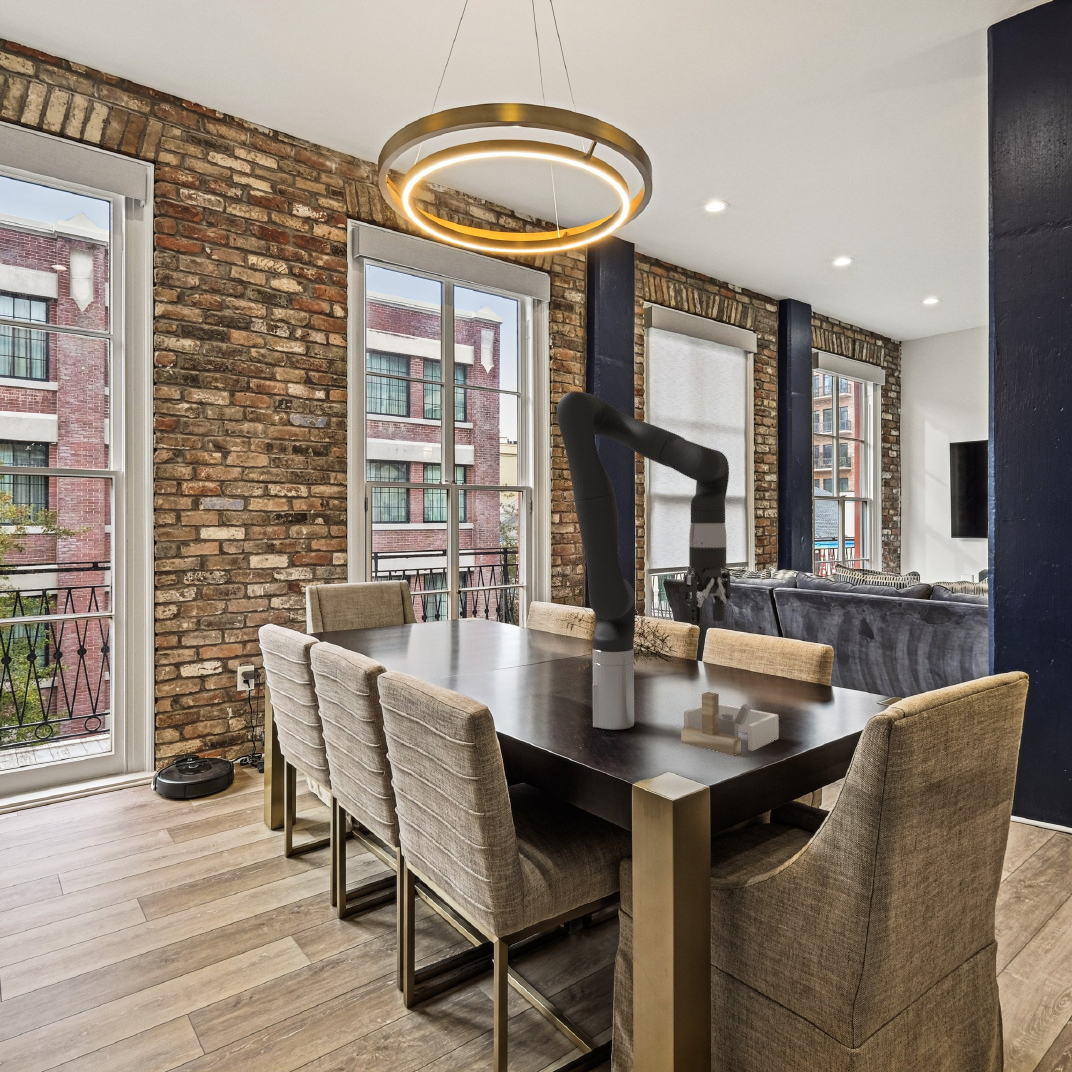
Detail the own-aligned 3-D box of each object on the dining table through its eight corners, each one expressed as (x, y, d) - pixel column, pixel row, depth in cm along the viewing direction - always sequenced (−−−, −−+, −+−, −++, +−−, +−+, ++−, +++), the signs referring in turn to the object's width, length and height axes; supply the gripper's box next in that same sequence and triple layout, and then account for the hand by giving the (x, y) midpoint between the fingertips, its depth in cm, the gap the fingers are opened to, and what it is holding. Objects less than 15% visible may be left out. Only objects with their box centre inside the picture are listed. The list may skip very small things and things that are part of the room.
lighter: (716, 738, 154) (716, 700, 154) (721, 736, 155) (720, 698, 155) (747, 745, 149) (747, 706, 149) (751, 743, 150) (751, 704, 150)
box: (752, 750, 145) (752, 726, 145) (684, 734, 156) (683, 711, 156) (778, 738, 153) (778, 714, 153) (711, 724, 164) (711, 701, 164)
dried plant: (670, 607, 234) (548, 553, 221) (720, 629, 204) (583, 568, 191) (632, 694, 234) (507, 645, 220) (676, 729, 204) (535, 674, 191)
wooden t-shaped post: (733, 756, 143) (732, 700, 142) (681, 743, 151) (680, 690, 151) (741, 752, 145) (740, 697, 144) (689, 740, 153) (689, 687, 153)
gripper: (704, 546, 144) (704, 628, 144) (741, 544, 154) (741, 621, 154) (672, 545, 149) (672, 624, 150) (710, 543, 159) (710, 617, 160)
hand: (707, 623), depth 152 cm, fingers open, 8 cm apart
